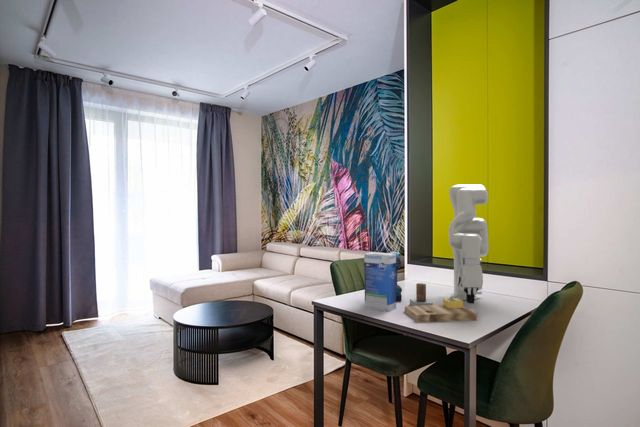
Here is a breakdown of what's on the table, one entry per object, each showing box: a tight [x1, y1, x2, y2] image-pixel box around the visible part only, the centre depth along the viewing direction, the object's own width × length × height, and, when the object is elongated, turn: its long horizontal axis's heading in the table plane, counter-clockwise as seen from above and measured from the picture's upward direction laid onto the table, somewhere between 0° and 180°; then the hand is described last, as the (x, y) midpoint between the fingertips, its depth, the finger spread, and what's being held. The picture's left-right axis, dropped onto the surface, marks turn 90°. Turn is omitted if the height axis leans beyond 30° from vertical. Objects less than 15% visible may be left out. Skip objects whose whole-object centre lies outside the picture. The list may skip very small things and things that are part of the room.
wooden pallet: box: [404, 304, 478, 323], centre depth 155 cm, size 26×15×3 cm, turn 97°
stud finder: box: [442, 297, 464, 308], centre depth 160 cm, size 7×5×3 cm
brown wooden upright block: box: [415, 282, 427, 302], centre depth 170 cm, size 4×4×10 cm
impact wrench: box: [388, 250, 403, 303], centre depth 185 cm, size 8×23×25 cm, turn 174°
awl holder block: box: [409, 298, 434, 306], centre depth 170 cm, size 8×8×3 cm
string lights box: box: [363, 251, 397, 312], centre depth 168 cm, size 13×8×26 cm, turn 52°
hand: (470, 302), depth 161 cm, fingers closed
